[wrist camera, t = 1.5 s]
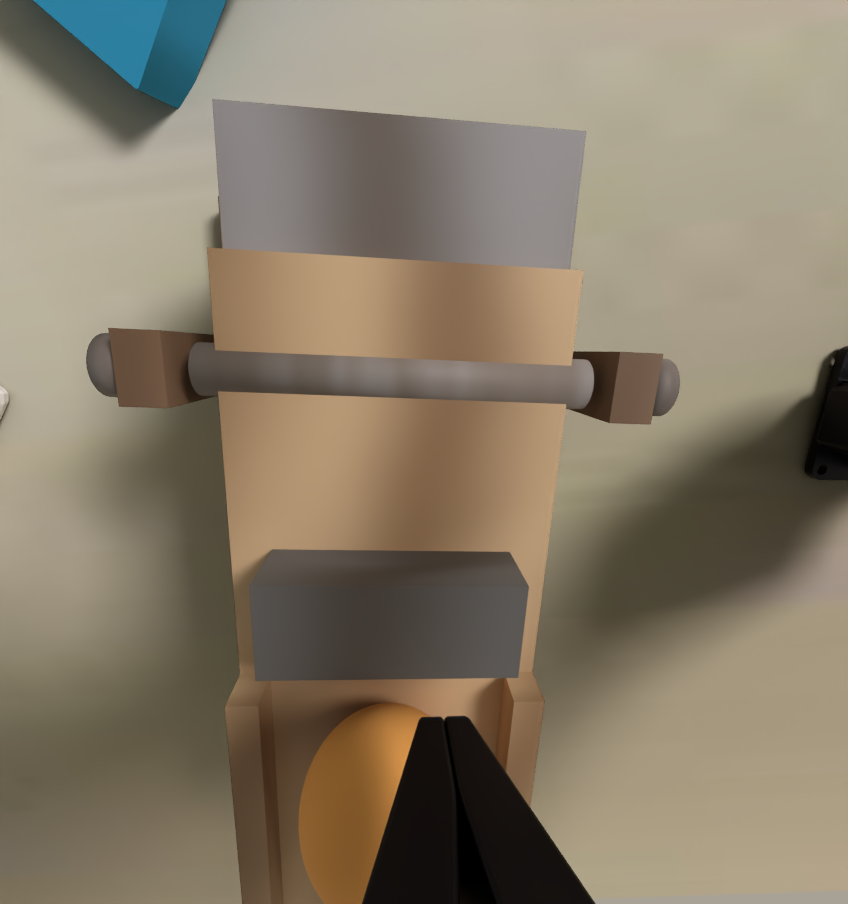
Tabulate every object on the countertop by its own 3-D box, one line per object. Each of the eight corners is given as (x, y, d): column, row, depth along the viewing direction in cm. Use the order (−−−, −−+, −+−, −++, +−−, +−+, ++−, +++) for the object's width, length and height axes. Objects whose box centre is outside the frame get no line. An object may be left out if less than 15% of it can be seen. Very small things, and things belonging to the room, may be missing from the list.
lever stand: (565, 228, 17) (767, 81, 8) (542, 434, 20) (677, 513, 10) (228, 205, 16) (-3, 7, 7) (242, 424, 19) (80, 503, 9)
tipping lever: (534, 208, 14) (680, 58, 7) (482, 737, 19) (533, 966, 12) (264, 189, 13) (106, -1, 6) (289, 741, 19) (221, 986, 11)
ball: (462, 666, 11) (495, 831, 7) (453, 778, 12) (478, 976, 8) (315, 667, 11) (271, 840, 7) (318, 782, 12) (280, 990, 8)
